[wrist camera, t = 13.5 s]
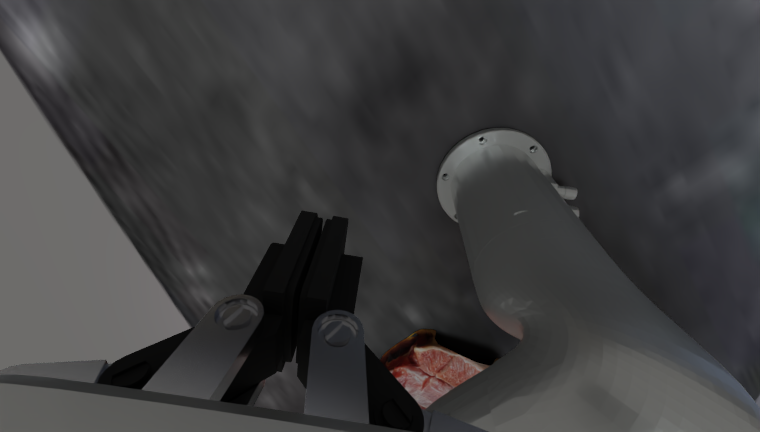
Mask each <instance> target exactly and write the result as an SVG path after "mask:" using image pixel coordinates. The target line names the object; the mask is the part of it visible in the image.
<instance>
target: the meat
mask: <svg viewBox="0 0 760 432" xmlns="http://www.w3.org/2000/svg"><path fill="white" fill-rule="evenodd" d="M414 333H417V334H418V336H416V337H411V336H412V335H413V334H414ZM414 333H413V334H412V335H410V336H409V337H411V338H409V337H407V338H406V339H404V340H403V341H401V342H399V343H398V344H396V345H395V346H394V347H392V348H391V349H390V350H388V351H387V352H386V353H385V354H384V355H383V356H382V358H381V360H380V361H381V362H382V363H383V364H384V366H385V367H386V368H387V369H388V370H389V371H390V372H391V373H392V374H393V376H394V377H395V378H396V379H397V380H398V381H399V382H400V383H401V385H402V386H403V387H404V388H405V389H406V390H407V391H408V392H409V394H410V395H411V396H412V397H413V398H414V399H415V400H416V402H417V403H418V405H419V406H420V408H421V409H423V410H425V409H426V408H427V407H428V406H429V405H431V404H432V403H433V402H434V401H436V400H437V399H438V398H440V397H441V396H443V395H444V394H446V393H448V392H449V391H450V390H452V389H453V388H455V387H457V386H458V385H460V384H461V383H463V382H465V381H466V380H468V379H470V378H471V377H473V376H474V375H476V374H478V373H479V372H481V371H483V370H484V369H486V368H487V367H489V366H490V365H485V364H481V363H477V362H475V361H473V360H470V359H468V358H466V357H464V356H461V355H459V354H457V353H455V352H453V351H451V350H449V349H447V348H445V347H442V346H440V345H438V343H437V342H436V340H435V336H436V331H435V330H432V329H421V330H418V331H416V332H414ZM427 333H428V335H426V334H427ZM497 360H498V358H497V359H495V360H494V362H496V361H497ZM494 362H493V364H494Z"/></svg>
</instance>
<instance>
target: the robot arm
mask: <svg viewBox="0 0 760 432" xmlns="http://www.w3.org/2000/svg"><path fill="white" fill-rule="evenodd" d="M481 137H483V139H482V140H479V139H480V138H481ZM531 146H533V147H532V148H530V147H531ZM446 173H447V174H446ZM443 174H446V175H443ZM436 186H437V194H438V198H439V202H440V204H441V206H442V208H443V210H444V211H445V212H446V213H447V215H448V216H449V217H450V218H451V219H453V220H454V221H455V222H457V223H459V227H460V231H461V235H462V239H463V243H464V247H465V251H466V255H467V259H468V263H469V267H470V271H471V275H472V279H473V282H474V285H475V289H476V293H477V296H478V299H479V302H480V304H481V306H482V308H483V310H484V311H485V313H486V314H487V315H488V317H489V318H490V319H491V320H492V321H493V322H494V323H495V324H496V325H497V326H499V327H500V328H501V329H503V330H504V331H506V332H507V333H509V334H511V335H512V336H514V337H516V338H518V339H520V340H521V341H520V343H519V344H518V345H517V346H516V347H515V348H514V349H513V350H512V351H510V352H509V353H507V354H506V355H504V356H503V357H502V358H500V359H498V360H497V361H496V362H494V364H492V365H491V366H489V367H487V368H486V369H484V370H483V371H481V372H479V373H478V374H476V375H474V376H473V377H471V378H470V379H468V380H466V381H465V382H463V383H461V384H460V385H458V386H457V387H455V388H453V389H452V390H450V391H449V392H448V393H446V394H444V395H443V396H441V397H440V398H438V399H437V400H436V401H434V402H433V403H432V404H431V405H429V406H428V407H427V408H426V409H425V410H423V409H421V408H420V406H419V405H418V403H417V402H416V400H415V399H414V398H413V397H412V396H411V395H410V394H409V392H408V391H407V390H406V389H405V388H404V387H403V386H402V385H401V383H400V382H399V381H398V380H397V379H396V378H395V377H394V376H393V374H392V373H391V372H390V371H389V370H388V369H387V368H386V367H385V366H384V364H383V363H382V362H381V361H380V360H379V359H378V358H377V357H376V355H375V354H374V353H373V352H372V351H371V350H370V349H369V348H368V347H367V345H366V344H365V342H364V329H363V325H362V323H361V322H360V320H359V319H358V318H357V317H356V316H355V315H354V309H355V303H356V297H357V290H358V284H359V278H360V272H361V266H362V260H363V257H357V256H351V255H345V254H344V249H345V242H346V235H347V227H348V218H342V217H336V216H333V218H332V220H330V219H327V220H326V222H325V225H324V228H323V231H322V222H323V219H322V218H318V214H317V213H313V212H307V211H301V213H300V215H299V217H298V219H297V221H296V223H295V225H294V227H293V229H292V231H291V233H290V235H289V237H288V239H287V241H286V243H285V244H279V243H272V244H271V245H270V247H269V248H268V250H267V252H266V254H265V256H264V258H263V259H262V261H261V263H260V265H259V267H258V268H257V270H256V272H255V274H254V276H253V278H252V279H251V281H250V283H249V285H248V287H247V289H246V290H245V292H244V294H240V295H232V296H228V297H225V298H224V299H222V300H220V301H218V302H217V303H216V304H215V305H214V306H213V307H212V308H211V309H210V310H209V311H208V312H207V314H206V315H205V316H204V317H203V318H202V319H201V321H200V322H199V323H198V324H197V325H196V326H195V327H193V328H191V329H189V330H186V331H184V332H182V333H179V334H177V335H174V336H172V337H170V338H167V339H165V340H162V341H160V342H158V343H155V344H153V345H151V346H148V347H146V348H143V349H141V350H139V351H136V352H134V353H132V354H129V355H127V356H125V357H123V358H121V359H119V360H117V361H115V362H114V363H112V364H108V363H107V361H106V360H92V361H74V362H55V363H36V364H21V365H16V366H11V367H8V368H5V369H3V370H0V432H760V407H759V406H758V405H757V404H756V402H755V401H754V400H753V399H752V397H751V396H750V395H749V394H748V393H747V391H746V390H745V389H744V388H743V387H742V385H741V384H740V383H739V382H738V381H737V380H736V379H735V378H734V377H733V376H732V375H731V374H730V373H729V372H728V371H727V370H726V369H725V368H724V367H723V366H722V365H721V364H720V363H719V362H718V361H717V360H716V359H715V358H713V357H712V356H711V355H710V354H709V353H708V352H707V351H706V350H704V349H703V348H702V347H701V346H700V345H699V344H698V343H697V342H695V341H694V340H693V339H692V338H691V337H690V336H689V335H688V334H687V333H685V332H684V331H683V330H682V329H681V328H680V327H679V326H678V325H676V324H675V323H674V322H673V321H672V320H671V319H670V318H669V317H667V316H666V315H665V314H664V313H663V312H662V311H661V310H660V309H659V308H657V307H656V306H655V305H654V304H653V303H652V302H651V301H650V300H649V299H648V298H647V297H646V296H645V295H644V294H643V293H642V292H641V291H640V290H639V289H638V288H637V287H636V286H635V285H634V284H633V283H632V282H631V280H630V279H629V278H628V277H627V276H626V275H625V274H624V273H623V272H622V271H621V270H620V268H619V267H618V266H617V265H616V264H615V262H614V261H613V260H612V259H611V258H610V257H609V255H608V254H607V253H606V252H605V250H604V249H603V248H602V247H601V245H600V244H599V243H598V242H597V240H596V239H595V238H594V237H593V235H592V234H591V233H590V232H589V230H588V229H587V228H586V227H585V225H584V224H583V223H582V222H581V220H580V219H579V218H578V217H579V209H578V208H577V207H576V206H570V205H568V204H567V203H566V202H565V200H564V199H568V200H574V199H575V198H576V196H577V188H574V187H568V186H559V185H558V184H557V183H556V182H555V181H554V179H553V178H552V169H551V162H550V160H549V157H548V155H547V153H546V151H545V150H544V149H543V147H542V146H541V145H540V144H539V143H538V142H537V141H536V140H535V139H534V138H533V137H531V136H530V135H528V134H527V133H524V132H521V131H519V130H516V129H510V128H491V129H486V130H481V131H479V132H476V133H474V134H471V135H469V136H468V137H466V138H464V139H463V140H461V141H460V142H459V143H457V144H456V145H455V146H454V147H453V148H452V149H451V150H450V151H449V153H448V154H447V155H446V156H445V158H444V160H443V161H442V163H441V165H440V168H439V171H438V174H437V182H436ZM321 233H322V234H321ZM296 346H297V351H296V363H298V371H297V377H298V378H299V380H300V381H301V382H302V384H303V385H304V387H305V388H306V399H305V409H304V414H300V413H294V412H287V411H280V410H274V409H267V408H260V407H254V404H255V402H256V400H257V398H258V396H259V395H260V393H261V391H262V389H263V387H264V384H265V379H266V378H268V377H270V376H271V375H273V374H275V373H276V372H277V371H279V372H282V370H283V367H284V364H285V361H286V362H291V361H292V359H293V356H294V352H295V349H296Z"/></svg>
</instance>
